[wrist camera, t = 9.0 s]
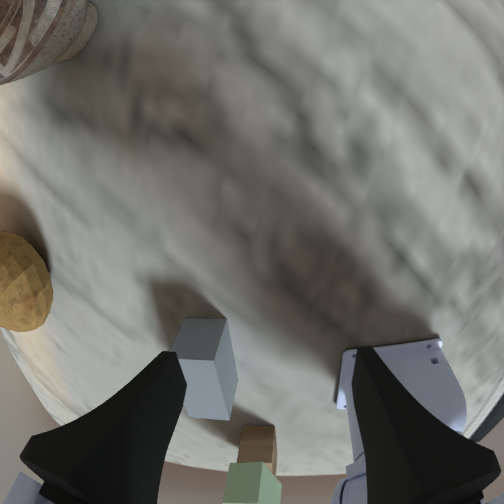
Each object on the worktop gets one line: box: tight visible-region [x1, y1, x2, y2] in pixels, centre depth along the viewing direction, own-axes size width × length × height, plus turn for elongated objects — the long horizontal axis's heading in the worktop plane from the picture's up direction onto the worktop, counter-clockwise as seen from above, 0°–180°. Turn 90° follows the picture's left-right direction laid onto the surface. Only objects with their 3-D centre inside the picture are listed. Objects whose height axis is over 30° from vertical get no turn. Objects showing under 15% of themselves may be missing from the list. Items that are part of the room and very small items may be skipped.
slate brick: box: [169, 318, 238, 420], centre depth 22 cm, size 7×4×5 cm, turn 5°
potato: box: [0, 231, 53, 332], centre depth 20 cm, size 10×14×8 cm
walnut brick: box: [237, 425, 277, 477], centre depth 27 cm, size 7×4×5 cm, turn 6°
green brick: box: [222, 461, 281, 504], centre depth 23 cm, size 7×4×5 cm, turn 19°
